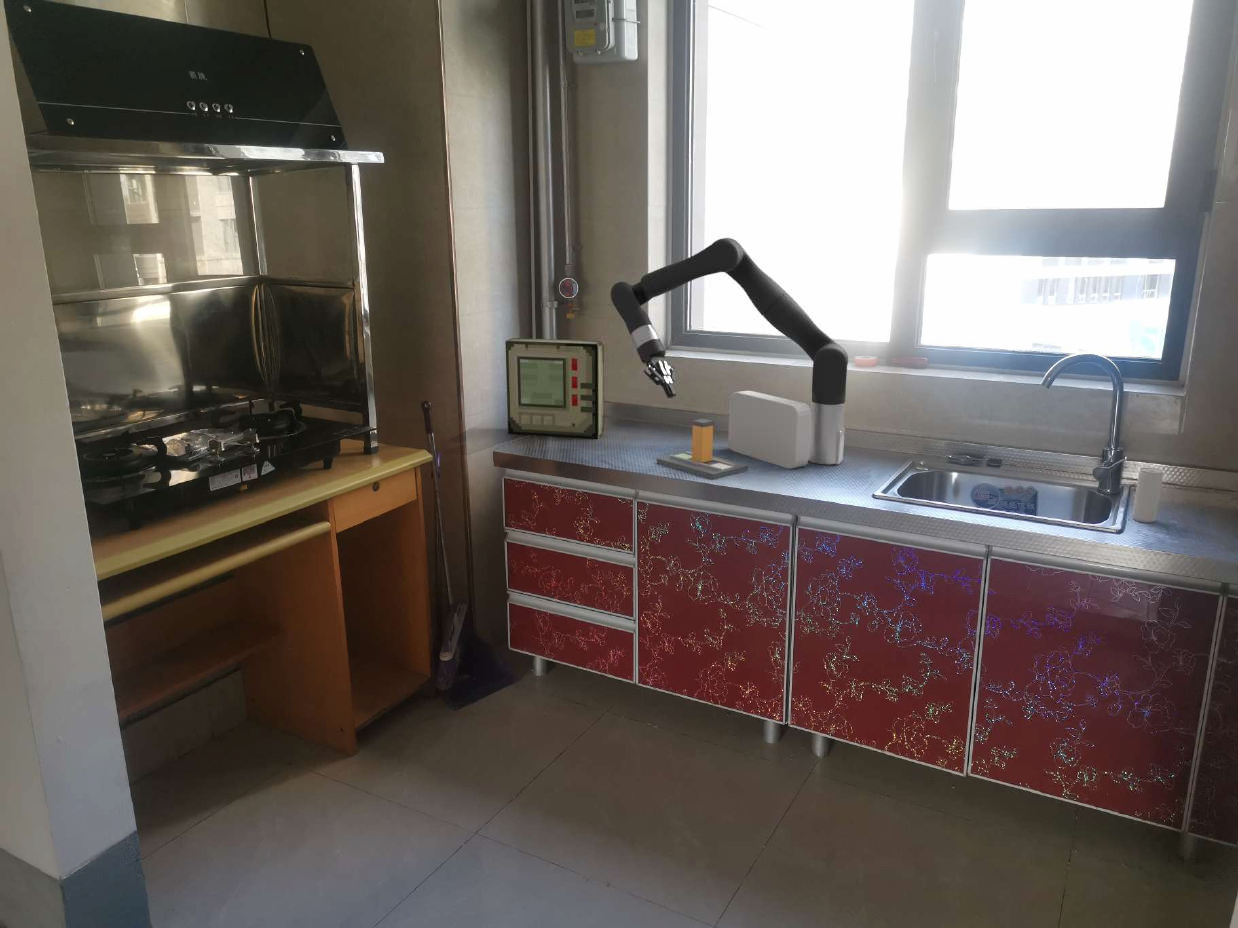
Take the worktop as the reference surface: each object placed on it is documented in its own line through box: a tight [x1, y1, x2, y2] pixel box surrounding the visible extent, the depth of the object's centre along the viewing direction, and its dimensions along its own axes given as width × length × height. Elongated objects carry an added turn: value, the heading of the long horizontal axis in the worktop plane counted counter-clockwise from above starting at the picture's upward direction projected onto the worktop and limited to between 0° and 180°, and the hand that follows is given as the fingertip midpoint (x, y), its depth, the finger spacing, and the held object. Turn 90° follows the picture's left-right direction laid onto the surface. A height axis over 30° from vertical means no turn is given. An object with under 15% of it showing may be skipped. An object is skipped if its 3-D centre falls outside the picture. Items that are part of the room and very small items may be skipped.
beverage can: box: [1131, 467, 1164, 524], centre depth 210 cm, size 5×5×12 cm
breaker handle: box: [691, 418, 715, 463], centre depth 253 cm, size 4×4×11 cm
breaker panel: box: [656, 449, 749, 480], centre depth 255 cm, size 22×14×2 cm, turn 41°
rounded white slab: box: [727, 390, 811, 470], centre depth 263 cm, size 29×8×18 cm, turn 33°
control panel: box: [505, 337, 605, 440], centre depth 290 cm, size 30×8×30 cm, turn 76°
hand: (672, 396), depth 259 cm, fingers closed
